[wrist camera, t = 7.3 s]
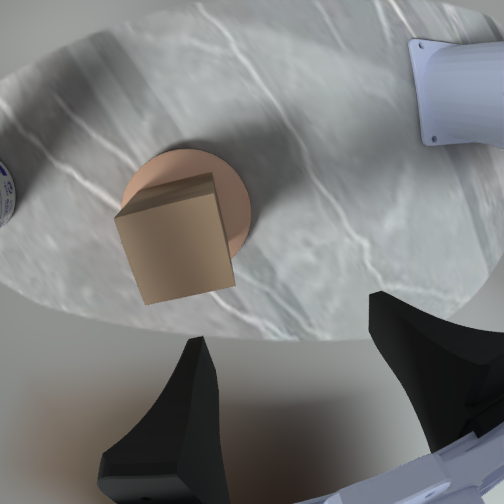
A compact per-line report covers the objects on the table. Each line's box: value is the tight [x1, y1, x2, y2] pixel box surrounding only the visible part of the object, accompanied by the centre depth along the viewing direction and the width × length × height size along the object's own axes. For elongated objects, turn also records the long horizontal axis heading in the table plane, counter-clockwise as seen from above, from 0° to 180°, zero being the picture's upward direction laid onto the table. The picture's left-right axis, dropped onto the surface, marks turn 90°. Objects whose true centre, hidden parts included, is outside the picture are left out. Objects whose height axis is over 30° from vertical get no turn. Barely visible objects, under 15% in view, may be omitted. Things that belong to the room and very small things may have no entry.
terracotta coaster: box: [121, 148, 251, 259], centre depth 20 cm, size 8×8×1 cm
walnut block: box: [114, 172, 236, 305], centre depth 17 cm, size 4×4×6 cm
